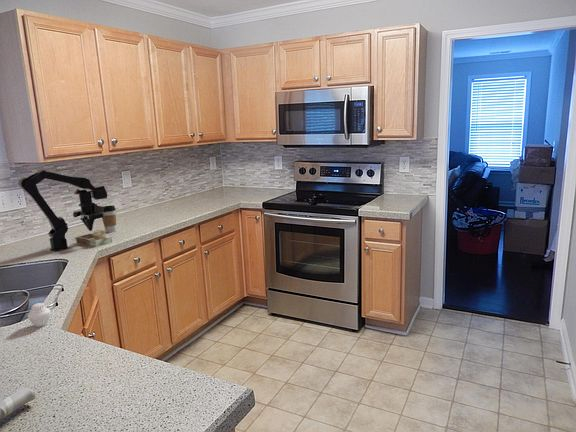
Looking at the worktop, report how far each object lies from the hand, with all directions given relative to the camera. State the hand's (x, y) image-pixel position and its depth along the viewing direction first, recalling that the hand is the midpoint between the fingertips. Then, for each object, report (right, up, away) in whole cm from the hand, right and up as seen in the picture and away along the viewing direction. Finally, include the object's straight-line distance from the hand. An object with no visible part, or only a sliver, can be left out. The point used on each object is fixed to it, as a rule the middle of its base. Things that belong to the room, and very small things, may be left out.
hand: (90, 230), depth 228 cm
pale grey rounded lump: (+28, -26, -95) cm, 102 cm away
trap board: (+2, -6, 0) cm, 6 cm away
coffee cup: (+1, -1, +24) cm, 24 cm away
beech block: (+7, -4, -4) cm, 9 cm away
